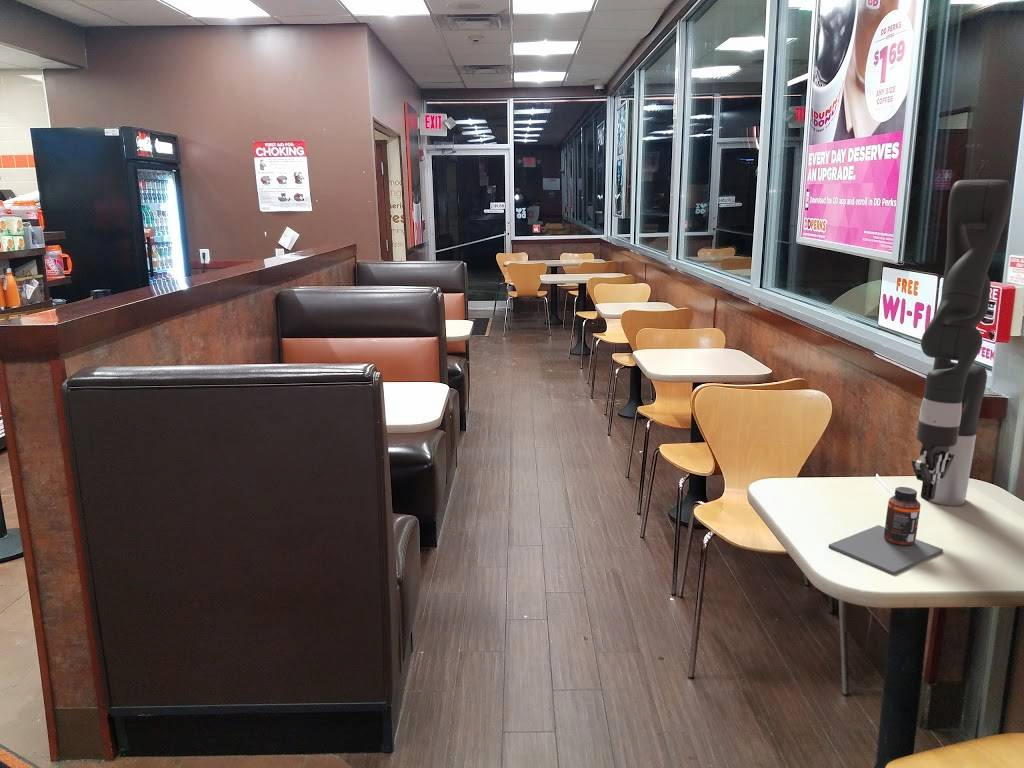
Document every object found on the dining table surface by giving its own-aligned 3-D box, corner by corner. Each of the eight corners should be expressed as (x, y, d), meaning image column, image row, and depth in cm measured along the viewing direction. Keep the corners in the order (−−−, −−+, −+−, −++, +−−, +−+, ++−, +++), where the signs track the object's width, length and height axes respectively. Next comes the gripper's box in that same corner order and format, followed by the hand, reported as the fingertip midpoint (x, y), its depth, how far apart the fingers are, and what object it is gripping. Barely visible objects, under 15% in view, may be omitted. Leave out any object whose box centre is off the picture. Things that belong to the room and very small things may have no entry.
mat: (878, 527, 167) (878, 525, 167) (942, 552, 156) (943, 549, 156) (828, 547, 157) (828, 544, 157) (893, 574, 146) (893, 571, 146)
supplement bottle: (919, 548, 156) (927, 496, 153) (888, 545, 157) (895, 494, 154) (909, 535, 162) (916, 485, 159) (879, 533, 163) (886, 483, 160)
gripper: (940, 429, 151) (928, 511, 155) (974, 420, 159) (961, 498, 163) (904, 420, 157) (892, 499, 162) (937, 411, 165) (926, 487, 169)
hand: (927, 498), depth 162 cm, fingers closed
